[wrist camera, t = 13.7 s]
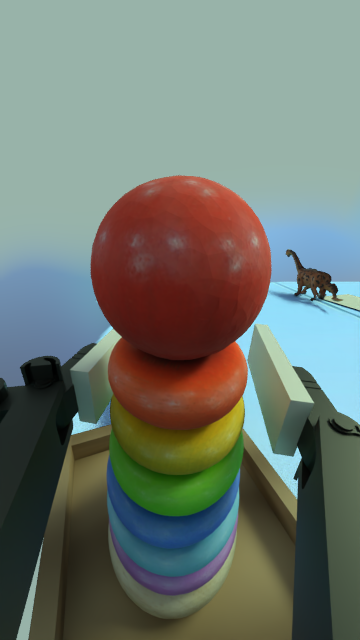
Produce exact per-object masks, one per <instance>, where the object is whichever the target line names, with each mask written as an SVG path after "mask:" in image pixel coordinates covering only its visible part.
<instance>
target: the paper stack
mask: <svg viewBox="0 0 360 640" xmlns="http://www.w3.org/2000/svg"><path fill="white" fill-rule="evenodd" d="M336 296H337V297H336V298H338V299H343V301H340V302H337V301H333V300H332V299H331V298H332V297H333V296H325V298H324V299H325V300H328V301H331V302H334V303H338V304H341V305H344V306H347V307H351V308H354V309H357V310H360V297H357V296H353V295H349V294H347V295H336ZM318 298H319V297H318Z"/></svg>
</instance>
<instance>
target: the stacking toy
mask: <svg viewBox="0 0 360 640" xmlns="http://www.w3.org/2000/svg"><path fill="white" fill-rule="evenodd" d="M270 278H271V252H270V247H269V243H268V239H267V236H266V234H265V231H264V229H263V226H262V224H261V223H260V221H259V219H258V217H257V216H256V215H255V213H254V212H253V210H252V209H251V208H250V207H249V206H248V204H247V203H246V202H245V201H244V200H243V199H242V198H240V196H239V195H237V194H236V193H234V192H233V191H231V190H230V189H228V188H226V187H224V186H222V185H221V184H218V183H216V182H213V181H211V180H208V179H205V178H200V177H194V176H172V177H165V178H160V179H155V180H152V181H149V182H147V183H144V184H141V185H139V186H137V187H136V188H134V189H133V190H131V191H129V192H128V193H126V194H125V195H124V196H122V198H120V199H119V200H118V201H117V202H116V203H115V204H114V205H113V206H112V208H111V209H110V210H109V211H108V212H107V214H106V216H105V217H104V219H103V221H102V222H101V224H100V226H99V229H98V231H97V234H96V237H95V240H94V243H93V247H92V255H91V279H92V285H93V289H94V293H95V296H96V299H97V302H98V304H99V306H100V308H101V310H102V312H103V314H104V316H105V317H106V319H107V320H108V322H109V323H110V325H111V326H112V327H113V329H114V330H115V331H116V332H117V333H118V334H119V335H120V336H121V338H120V339H119V341H118V342H117V343H116V345H115V346H114V348H113V350H112V352H111V355H110V358H109V363H108V381H109V383H110V386H111V389H112V391H113V396H112V399H111V404H110V418H111V425H112V430H111V435H110V443H109V458H108V463H107V489H108V490H107V507H108V514H109V527H108V542H109V551H110V556H111V561H112V565H113V568H114V571H115V574H116V576H117V578H118V581H119V583H120V585H121V586H122V588H123V590H124V591H125V592H126V594H127V595H128V597H129V598H130V599H131V600H132V601H133V602H134V603H135V604H136V605H137V606H138V607H139V608H141V609H142V610H143V611H145V612H147V613H149V614H151V615H153V616H156V617H158V618H163V619H178V618H183V617H186V616H189V615H191V614H193V613H195V612H197V611H199V610H200V609H201V608H203V607H204V606H205V605H207V604H208V603H209V602H210V601H211V600H212V599H213V597H214V596H215V595H216V594H217V592H218V591H219V589H220V588H221V586H222V585H223V583H224V581H225V579H226V577H227V575H228V573H229V570H230V568H231V564H232V561H233V557H234V553H235V547H236V539H237V524H238V508H239V482H240V466H241V462H242V457H243V451H244V441H243V433H242V428H243V424H244V417H245V408H244V401H243V397H242V395H243V393H244V390H245V387H246V383H247V375H248V368H247V363H246V360H245V357H244V354H243V352H242V350H241V349H240V347H239V345H238V344H237V343H236V342H235V341H236V340H237V339H238V338H239V337H240V336H241V335H243V334H244V333H245V332H246V331H247V329H248V328H249V327H250V326H251V325H252V323H253V322H254V320H255V319H256V317H257V316H258V314H259V312H260V311H261V309H262V306H263V304H264V302H265V299H266V297H267V293H268V289H269V285H270Z"/></svg>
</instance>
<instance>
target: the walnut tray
mask: <svg viewBox="0 0 360 640" xmlns="http://www.w3.org/2000/svg"><path fill="white" fill-rule="evenodd" d="M111 430H112V425H107V426H103V427H100V428H96V429H92V430H89V431H85V432H81V433H78V434H74V435H71V437H70V441H69V444H68V448H67V452H66V456H65V459H64V463H63V467H62V470H61V474H60V478H59V482H58V485H57V489H56V493H55V497H54V500H53V504H52V508H51V511H50V515H49V519H48V523H47V526H46V530H45V534H44V539H43V546H42V552H41V559H40V566H39V572H38V580H37V586H36V593H35V599H34V606H33V612H32V619H31V626H30V633H29V639H28V640H292V619H293V595H294V570H295V546H296V522H297V499H296V498H295V496H294V495H293V494H292V492H291V491H290V490H289V488H288V487H287V486H286V484H285V483H284V482H283V480H282V479H281V478H280V476H279V475H278V474H277V473H276V471H275V470H274V469H273V467H272V466H271V465H270V463H269V462H268V461H267V459H266V458H265V457H264V455H263V454H262V453H261V452H260V450H259V449H258V448H257V446H256V445H255V444H254V442H253V441H252V440H251V438H250V437H249V436H248V434H247V433H246V432H245V431H244V429H243V428H242V433H243V441H244V451H243V457H242V462H241V466H240V482H239V508H238V524H237V539H236V547H235V553H234V557H233V561H232V564H231V568H230V570H229V573H228V575H227V577H226V579H225V581H224V583H223V585H222V586H221V588H220V589H219V591H218V592H217V594H216V595H215V596H214V597H213V599H212V600H211V601H210V602H209V603H208V604H207V605H205V606H204V607H203V608H201V609H200V610H199V611H197V612H195V613H193V614H191V615H189V616H186V617H183V618H178V619H163V618H158V617H156V616H153V615H151V614H149V613H147V612H145V611H143V610H142V609H141V608H139V607H138V606H137V605H136V604H135V603H134V602H133V601H132V600H131V599H130V598H129V597H128V595H127V594H126V592H125V591H124V590H123V588H122V586H121V585H120V583H119V581H118V578H117V576H116V574H115V571H114V568H113V565H112V561H111V556H110V551H109V542H108V527H109V514H108V507H107V490H108V489H107V463H108V458H109V443H110V435H111Z"/></svg>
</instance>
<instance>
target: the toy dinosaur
mask: <svg viewBox="0 0 360 640" xmlns="http://www.w3.org/2000/svg"><path fill="white" fill-rule="evenodd" d="M286 255H287V256H288V257H289V256H290V255H292V256H293V258H294V260H295V264H296V268H297V271H298V275H297V283H298V292H297V293H295V294H294V295H296V296H297V295H299V294H300V293H303V294H304V293H305V294H306V292H307V291H306V290H307V289H309V288H311V290H312V293H313V295H314V298H311V301H313V300H315V299H316V298H318V297H319V298H321V299H324V298H325V296H326V294H325V293H326V290H328V291H329V292H331V293H332V295H333V297H332V298H331V299H332V300H333V301H337V302H340V301H343V299H338V298H336V297H337V296H336V293H337V292H338V288H337V286H336V285H335V284H331V283H330V282H331V276H330V275H329V274H327V273H325V272H321V271H317V270H316V269H311V268H309V269H306V268H304V267H303V266H302V265H301V263H300V261H299V258H298V257H297V255H296V253H295V252H293V251H292V250H290V249H288V250H287V251H286ZM302 286H306V287H304V289H303V291H302ZM317 287H319V288H320V291H319V294H318V293H317V290H316V288H317ZM301 291H302V292H301ZM316 295H317V296H318V297H317V296H316Z"/></svg>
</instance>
